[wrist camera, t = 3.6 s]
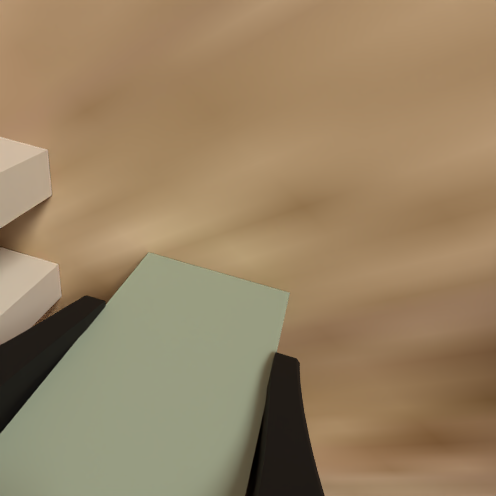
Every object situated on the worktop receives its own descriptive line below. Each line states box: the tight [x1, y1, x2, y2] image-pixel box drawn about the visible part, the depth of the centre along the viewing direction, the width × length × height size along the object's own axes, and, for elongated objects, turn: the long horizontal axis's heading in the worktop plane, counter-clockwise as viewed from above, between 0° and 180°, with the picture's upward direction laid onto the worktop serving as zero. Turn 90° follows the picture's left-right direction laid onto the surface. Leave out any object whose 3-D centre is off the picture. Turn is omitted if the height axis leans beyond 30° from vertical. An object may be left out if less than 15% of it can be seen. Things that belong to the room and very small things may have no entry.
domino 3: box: [0, 253, 290, 496], centre depth 10 cm, size 2×5×9 cm, turn 79°
